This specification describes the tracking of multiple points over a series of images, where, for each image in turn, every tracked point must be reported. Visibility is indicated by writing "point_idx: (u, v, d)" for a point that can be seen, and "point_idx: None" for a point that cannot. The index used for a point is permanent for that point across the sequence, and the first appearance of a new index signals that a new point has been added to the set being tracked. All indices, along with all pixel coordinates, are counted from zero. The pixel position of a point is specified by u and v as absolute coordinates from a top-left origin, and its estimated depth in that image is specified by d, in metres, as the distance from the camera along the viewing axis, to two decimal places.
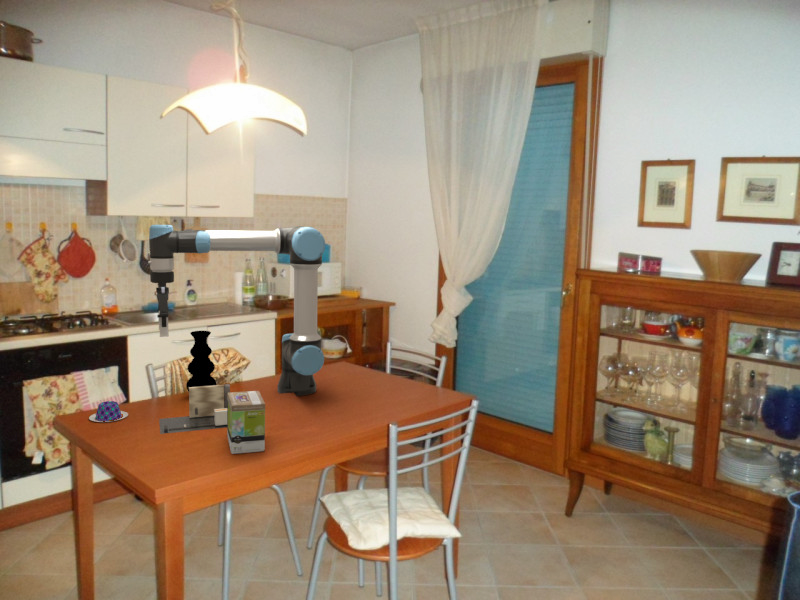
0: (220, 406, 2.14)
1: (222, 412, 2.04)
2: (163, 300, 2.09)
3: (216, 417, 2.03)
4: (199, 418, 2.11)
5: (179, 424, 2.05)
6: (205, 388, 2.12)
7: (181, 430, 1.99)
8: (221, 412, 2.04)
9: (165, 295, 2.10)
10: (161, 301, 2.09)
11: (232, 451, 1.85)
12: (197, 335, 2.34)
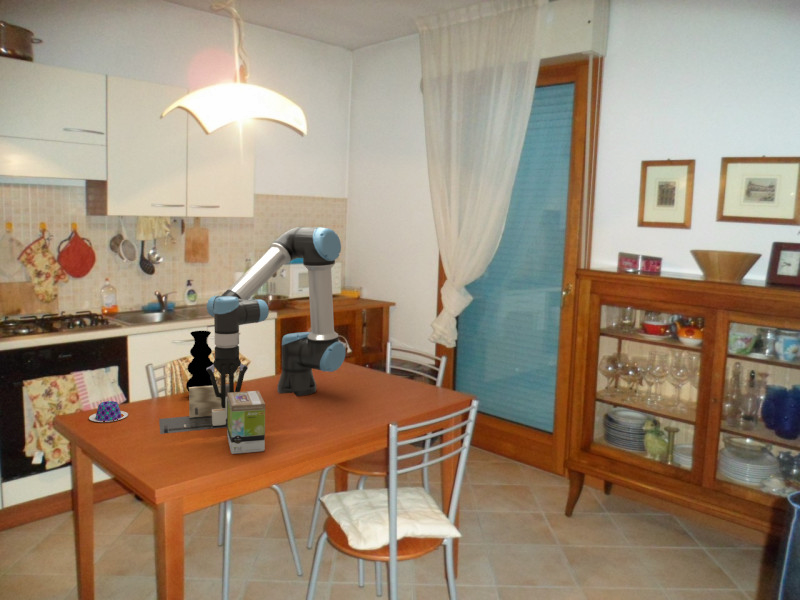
0: (220, 406, 2.14)
1: (220, 412, 2.03)
2: None
3: (213, 417, 2.03)
4: (199, 418, 2.11)
5: (179, 424, 2.05)
6: (205, 388, 2.12)
7: (181, 430, 1.99)
8: (219, 412, 2.03)
9: None
10: None
11: (232, 451, 1.85)
12: (197, 335, 2.34)
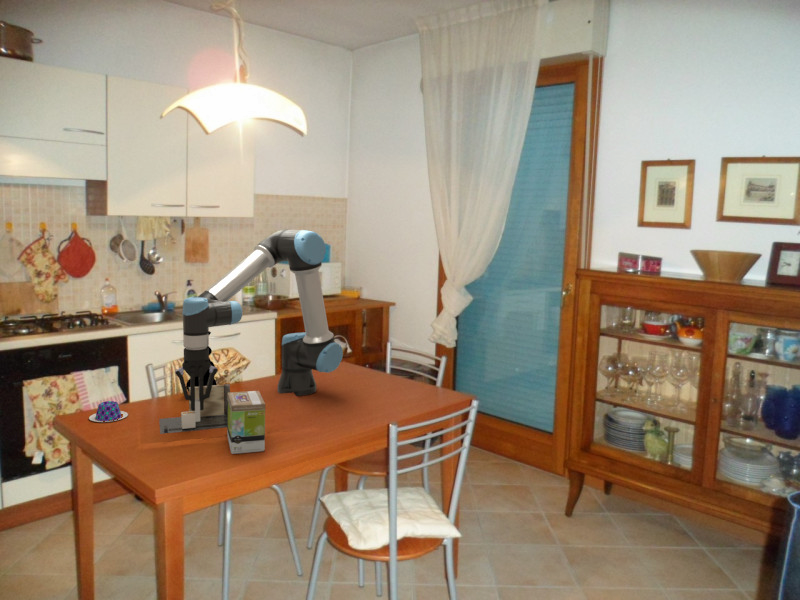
0: (220, 406, 2.14)
1: (189, 415, 2.00)
2: None
3: (183, 420, 2.00)
4: None
5: (179, 424, 2.05)
6: (205, 388, 2.12)
7: (181, 430, 1.99)
8: (188, 415, 2.00)
9: None
10: None
11: (232, 451, 1.85)
12: None
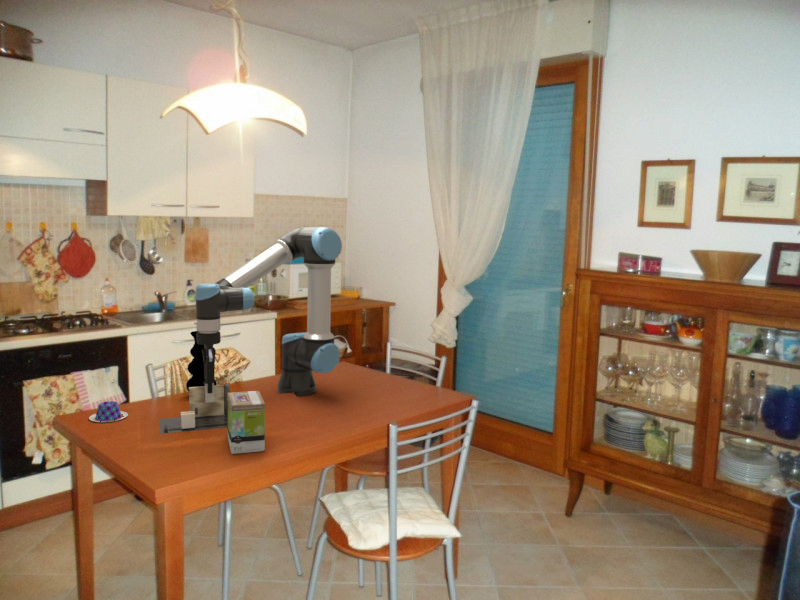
0: (220, 406, 2.14)
1: (188, 415, 2.00)
2: (210, 369, 2.05)
3: (182, 420, 1.99)
4: (199, 418, 2.11)
5: (179, 424, 2.05)
6: None
7: (181, 430, 1.99)
8: (187, 415, 2.00)
9: (212, 364, 2.04)
10: (208, 370, 2.04)
11: (232, 451, 1.85)
12: None
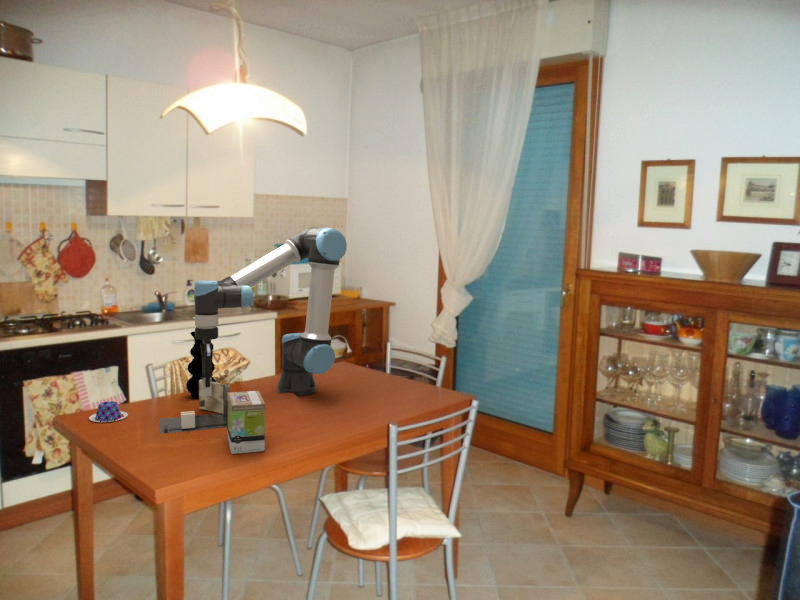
0: (220, 404, 2.16)
1: (188, 415, 2.00)
2: (208, 363, 2.10)
3: (182, 420, 1.99)
4: (199, 418, 2.11)
5: (179, 424, 2.05)
6: None
7: (181, 430, 1.99)
8: (187, 415, 2.00)
9: (210, 358, 2.10)
10: (206, 364, 2.10)
11: (232, 451, 1.85)
12: None
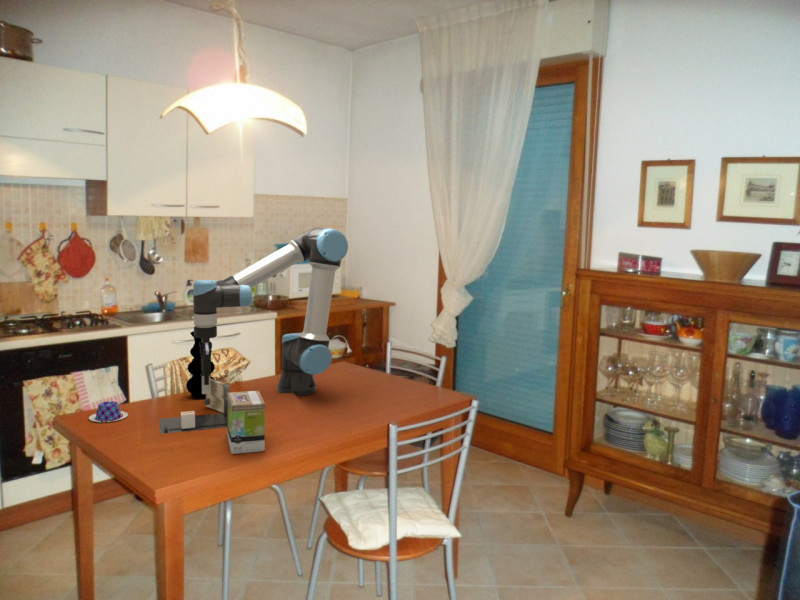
0: (221, 404, 2.17)
1: (188, 415, 2.00)
2: (207, 361, 2.14)
3: (182, 420, 1.99)
4: (199, 418, 2.11)
5: (179, 424, 2.05)
6: (213, 382, 2.19)
7: (181, 430, 1.99)
8: (187, 415, 2.00)
9: (209, 357, 2.13)
10: (205, 362, 2.14)
11: (232, 451, 1.85)
12: None
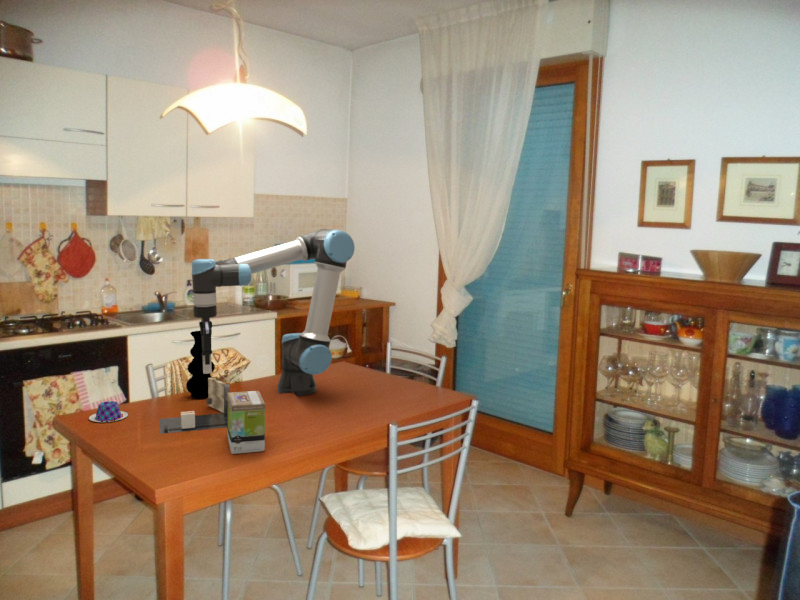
0: (222, 404, 2.17)
1: (188, 415, 2.00)
2: (207, 340, 2.13)
3: (182, 420, 1.99)
4: (199, 418, 2.11)
5: (179, 424, 2.05)
6: (215, 382, 2.19)
7: (181, 430, 1.99)
8: (187, 415, 2.00)
9: (209, 336, 2.13)
10: (205, 342, 2.13)
11: (232, 451, 1.85)
12: (197, 335, 2.34)
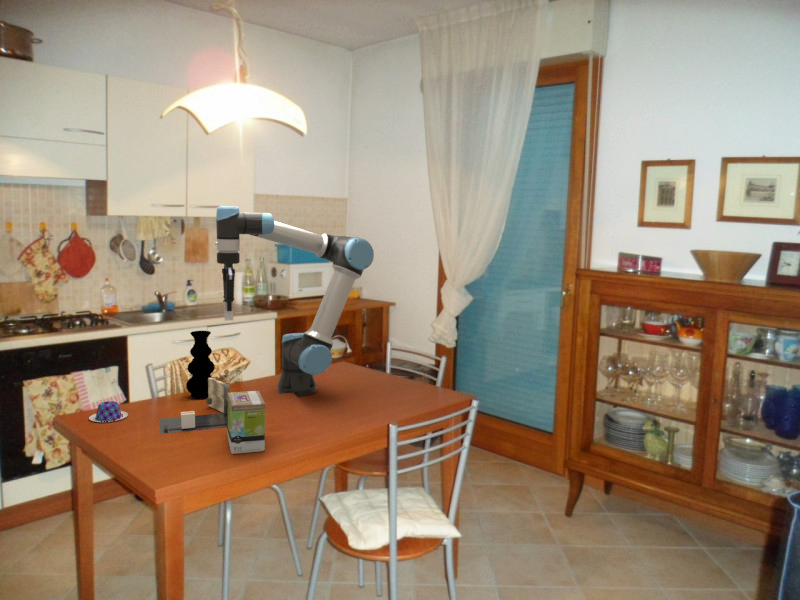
0: (222, 404, 2.17)
1: (188, 415, 2.00)
2: (230, 286, 2.15)
3: (182, 420, 1.99)
4: (199, 418, 2.11)
5: (179, 424, 2.05)
6: (215, 382, 2.19)
7: (181, 430, 1.99)
8: (187, 415, 2.00)
9: (232, 281, 2.15)
10: (228, 287, 2.15)
11: (232, 451, 1.85)
12: (197, 335, 2.34)
